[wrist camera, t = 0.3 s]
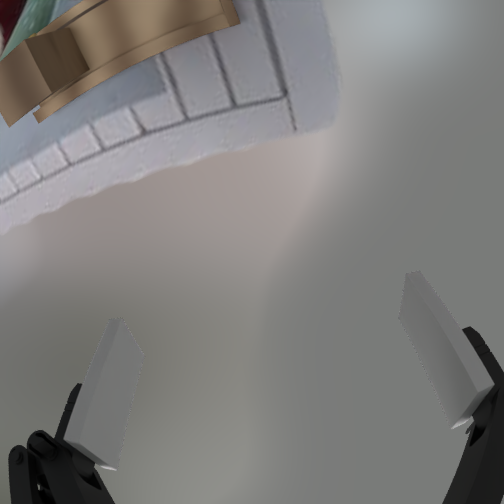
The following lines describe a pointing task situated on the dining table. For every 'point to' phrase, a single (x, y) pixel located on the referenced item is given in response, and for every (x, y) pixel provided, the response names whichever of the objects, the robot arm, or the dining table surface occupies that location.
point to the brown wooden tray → (130, 36)
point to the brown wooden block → (38, 71)
